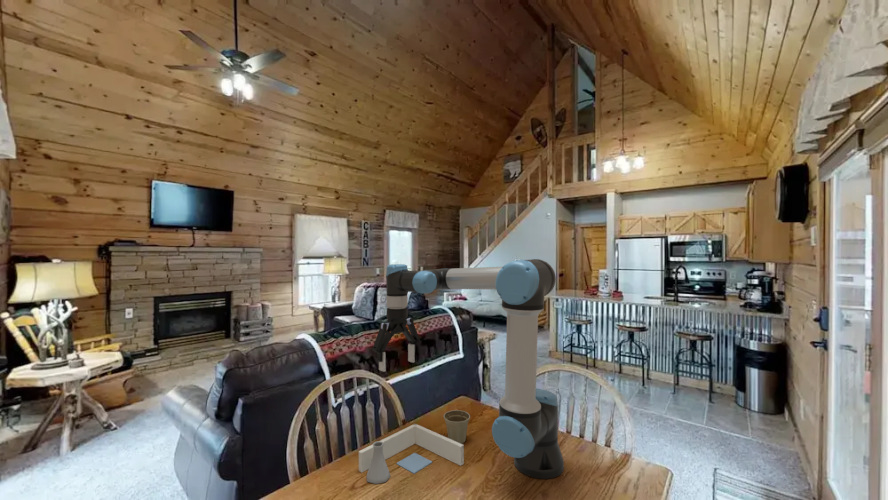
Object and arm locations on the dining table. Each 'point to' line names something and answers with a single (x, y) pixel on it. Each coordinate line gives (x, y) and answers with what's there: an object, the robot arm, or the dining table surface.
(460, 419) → the flower pot
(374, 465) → the flask
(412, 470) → the pad
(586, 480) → the dining table surface
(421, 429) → the corner wall
